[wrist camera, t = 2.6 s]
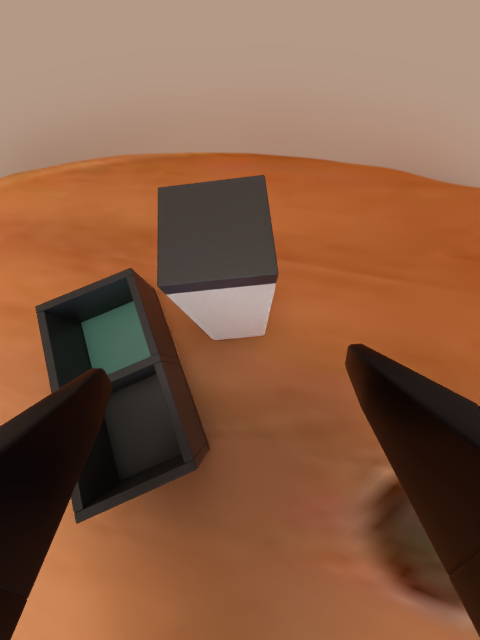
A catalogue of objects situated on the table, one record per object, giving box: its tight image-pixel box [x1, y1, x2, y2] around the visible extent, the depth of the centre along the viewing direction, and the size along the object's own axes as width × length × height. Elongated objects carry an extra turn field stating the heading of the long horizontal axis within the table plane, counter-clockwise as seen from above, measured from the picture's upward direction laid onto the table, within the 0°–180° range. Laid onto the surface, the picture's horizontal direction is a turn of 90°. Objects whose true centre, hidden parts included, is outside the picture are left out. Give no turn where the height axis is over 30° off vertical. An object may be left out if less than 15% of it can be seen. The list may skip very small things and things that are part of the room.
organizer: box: [35, 268, 210, 524], centre depth 18 cm, size 15×8×4 cm, turn 23°
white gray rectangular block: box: [157, 175, 278, 340], centre depth 15 cm, size 5×5×12 cm
